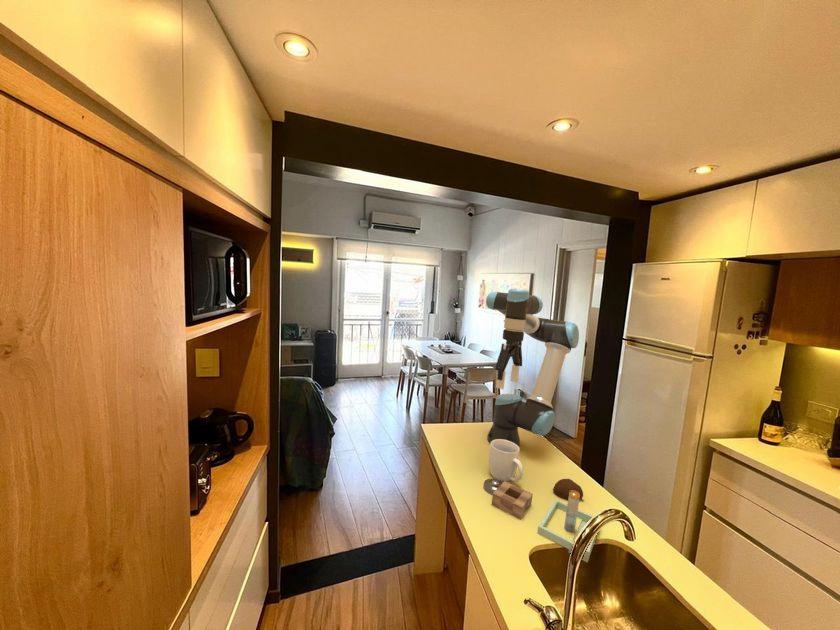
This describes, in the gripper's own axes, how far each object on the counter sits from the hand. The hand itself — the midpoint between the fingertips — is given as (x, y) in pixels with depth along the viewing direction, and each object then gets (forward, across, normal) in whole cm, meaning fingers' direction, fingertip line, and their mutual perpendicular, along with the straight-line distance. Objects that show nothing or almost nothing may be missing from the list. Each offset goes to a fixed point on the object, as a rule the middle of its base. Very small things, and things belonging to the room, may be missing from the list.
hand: (507, 384), depth 128 cm
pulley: (+37, +10, +4) cm, 38 cm away
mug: (+37, 0, +3) cm, 37 cm away
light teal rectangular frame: (+37, +12, +30) cm, 49 cm away
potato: (+37, -6, +25) cm, 45 cm away
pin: (+36, +12, +30) cm, 48 cm away
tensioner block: (+37, +14, +12) cm, 41 cm away
